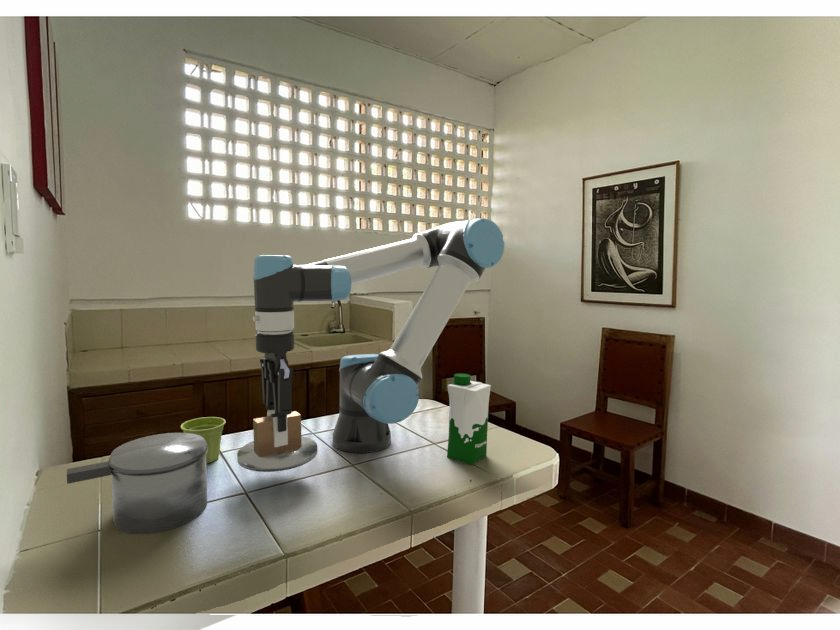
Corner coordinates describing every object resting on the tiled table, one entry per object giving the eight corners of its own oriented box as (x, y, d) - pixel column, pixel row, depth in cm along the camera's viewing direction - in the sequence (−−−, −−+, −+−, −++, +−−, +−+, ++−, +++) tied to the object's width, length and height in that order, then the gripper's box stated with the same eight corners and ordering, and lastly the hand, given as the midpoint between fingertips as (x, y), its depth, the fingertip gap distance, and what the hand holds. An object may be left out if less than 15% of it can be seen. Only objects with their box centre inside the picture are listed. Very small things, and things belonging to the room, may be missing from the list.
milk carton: (460, 446, 119) (463, 370, 117) (492, 456, 113) (495, 376, 111) (441, 457, 112) (444, 376, 110) (473, 467, 106) (477, 383, 104)
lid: (300, 434, 108) (299, 400, 107) (329, 458, 95) (329, 420, 94) (228, 450, 98) (227, 413, 97) (250, 479, 86) (248, 436, 85)
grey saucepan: (200, 483, 95) (198, 427, 94) (217, 517, 83) (216, 452, 82) (71, 513, 83) (67, 448, 82) (69, 558, 70) (64, 483, 69)
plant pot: (172, 462, 105) (171, 425, 104) (208, 448, 113) (207, 414, 113) (199, 471, 101) (198, 433, 100) (235, 456, 109) (234, 421, 108)
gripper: (244, 328, 98) (248, 434, 101) (269, 338, 85) (272, 460, 88) (279, 325, 102) (282, 427, 105) (307, 335, 89) (309, 451, 92)
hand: (277, 442), depth 96 cm, fingers closed on lid, 3 cm apart
